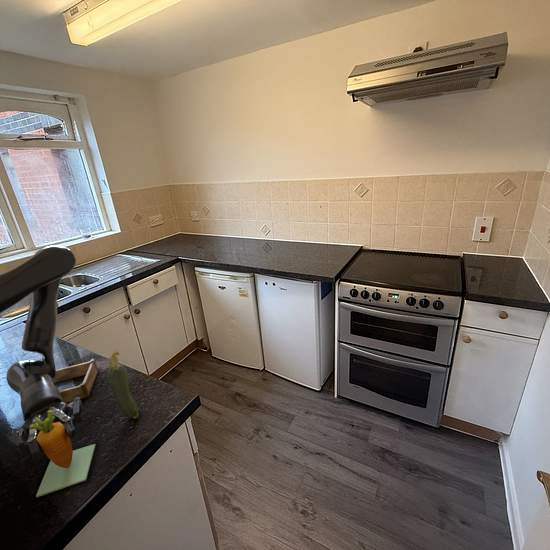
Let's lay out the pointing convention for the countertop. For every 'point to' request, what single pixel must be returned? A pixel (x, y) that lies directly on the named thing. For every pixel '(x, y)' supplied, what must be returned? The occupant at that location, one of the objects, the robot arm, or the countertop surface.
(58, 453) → the carrot
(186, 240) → the countertop surface
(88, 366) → the crate
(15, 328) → the countertop surface
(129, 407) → the vegetable
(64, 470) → the mat
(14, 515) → the countertop surface
